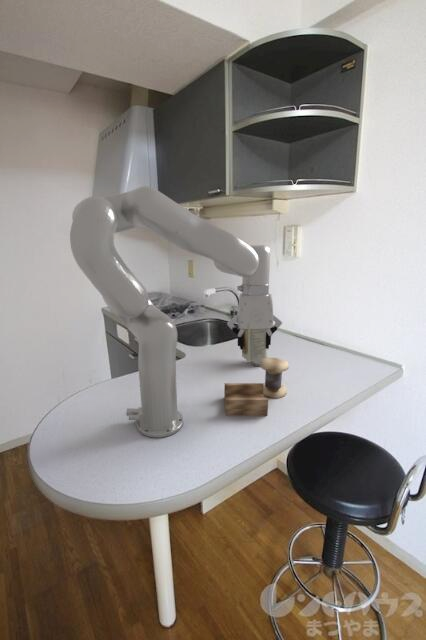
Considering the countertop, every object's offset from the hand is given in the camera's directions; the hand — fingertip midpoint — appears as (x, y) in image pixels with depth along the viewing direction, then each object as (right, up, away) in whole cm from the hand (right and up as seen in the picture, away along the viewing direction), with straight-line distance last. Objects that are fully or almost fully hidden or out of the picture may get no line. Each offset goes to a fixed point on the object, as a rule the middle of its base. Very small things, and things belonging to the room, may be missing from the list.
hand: (253, 347), depth 95 cm
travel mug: (+6, -9, +30) cm, 32 cm away
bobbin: (+7, -15, +9) cm, 19 cm away
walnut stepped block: (-3, -18, 0) cm, 18 cm away
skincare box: (0, -3, +1) cm, 4 cm away
